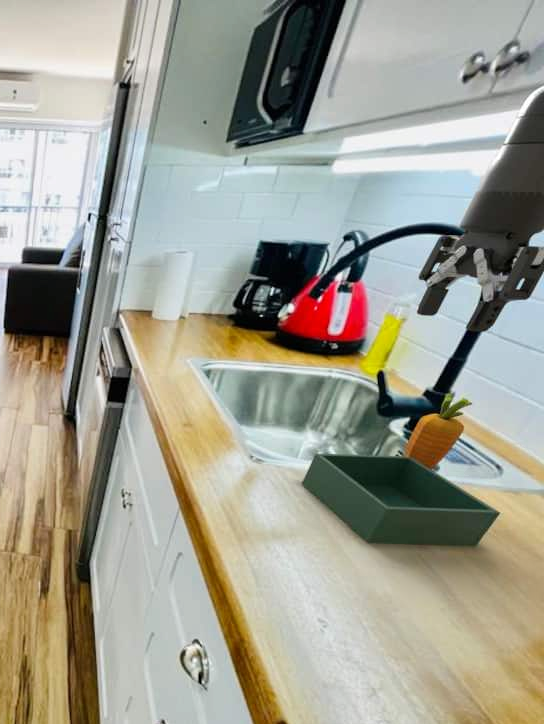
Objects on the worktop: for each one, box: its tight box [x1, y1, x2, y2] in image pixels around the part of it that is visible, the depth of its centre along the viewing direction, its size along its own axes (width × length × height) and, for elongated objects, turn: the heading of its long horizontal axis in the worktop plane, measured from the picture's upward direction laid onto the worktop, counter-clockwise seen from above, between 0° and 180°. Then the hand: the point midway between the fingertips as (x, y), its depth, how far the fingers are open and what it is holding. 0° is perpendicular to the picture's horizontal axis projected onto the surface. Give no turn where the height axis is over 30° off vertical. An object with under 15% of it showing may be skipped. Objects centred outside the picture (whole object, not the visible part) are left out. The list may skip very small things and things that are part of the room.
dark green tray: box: [301, 452, 501, 548], centre depth 68 cm, size 14×14×6 cm
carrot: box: [403, 393, 473, 470], centre depth 74 cm, size 5×5×15 cm
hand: (449, 322), depth 66 cm, fingers open, 8 cm apart
